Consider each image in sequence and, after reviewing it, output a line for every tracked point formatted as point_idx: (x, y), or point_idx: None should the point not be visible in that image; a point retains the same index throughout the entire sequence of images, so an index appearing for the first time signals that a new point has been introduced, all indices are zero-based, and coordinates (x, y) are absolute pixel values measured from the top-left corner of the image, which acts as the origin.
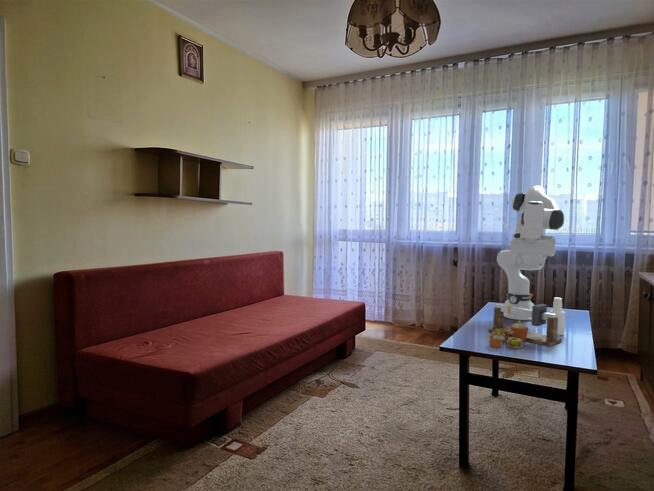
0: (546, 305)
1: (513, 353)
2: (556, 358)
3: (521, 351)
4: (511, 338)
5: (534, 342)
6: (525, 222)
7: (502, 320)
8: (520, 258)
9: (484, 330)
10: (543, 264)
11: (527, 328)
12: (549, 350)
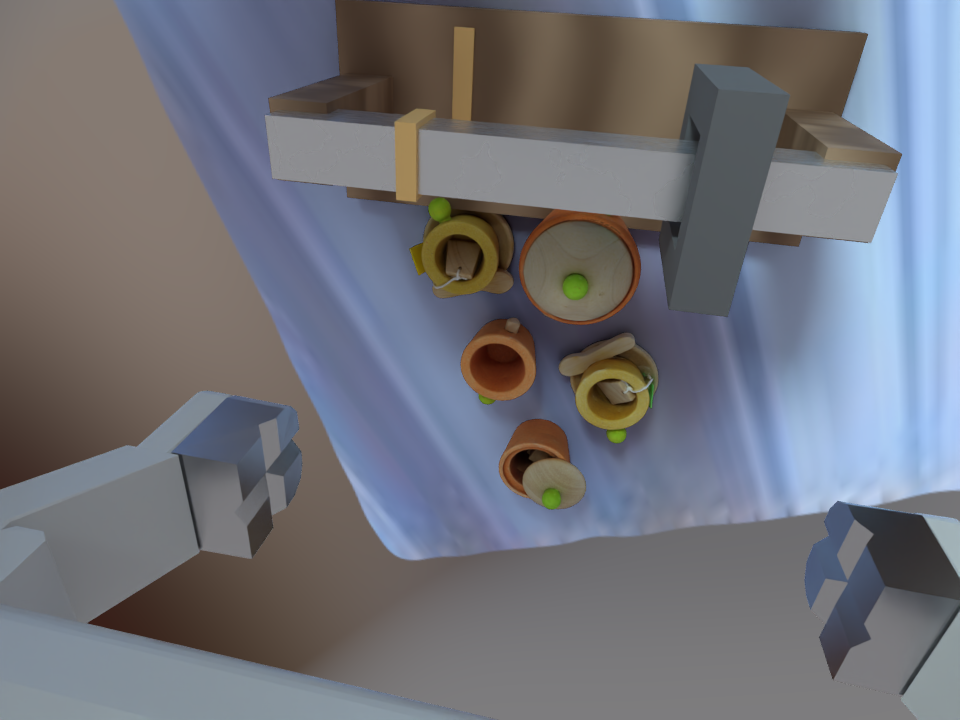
0: (784, 108)
1: (651, 486)
2: (858, 434)
3: (672, 437)
4: (588, 391)
5: None
6: None
7: (372, 101)
8: (149, 558)
9: None
10: (956, 545)
11: (638, 269)
12: (803, 321)
